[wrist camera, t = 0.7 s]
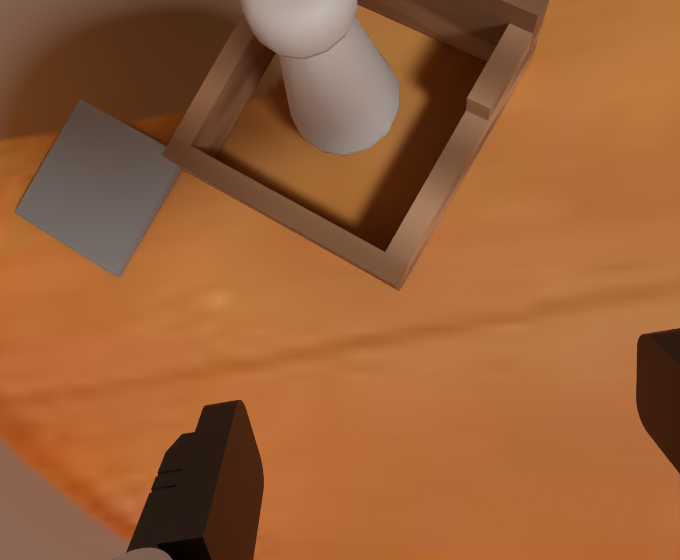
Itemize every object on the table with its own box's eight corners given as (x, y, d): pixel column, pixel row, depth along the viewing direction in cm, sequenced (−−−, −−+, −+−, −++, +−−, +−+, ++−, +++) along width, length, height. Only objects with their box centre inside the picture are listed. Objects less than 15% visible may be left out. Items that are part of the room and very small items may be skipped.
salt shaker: (412, 74, 32) (389, -100, 20) (392, 174, 32) (355, 61, 19) (312, 63, 34) (230, -109, 21) (291, 159, 33) (194, 42, 21)
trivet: (84, 101, 36) (79, 98, 36) (187, 158, 34) (184, 156, 34) (20, 214, 36) (14, 212, 36) (119, 276, 34) (115, 275, 34)
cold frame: (311, -53, 34) (184, -425, 18) (542, 47, 31) (649, -290, 15) (183, 169, 34) (-65, 4, 18) (402, 292, 31) (351, 232, 15)
